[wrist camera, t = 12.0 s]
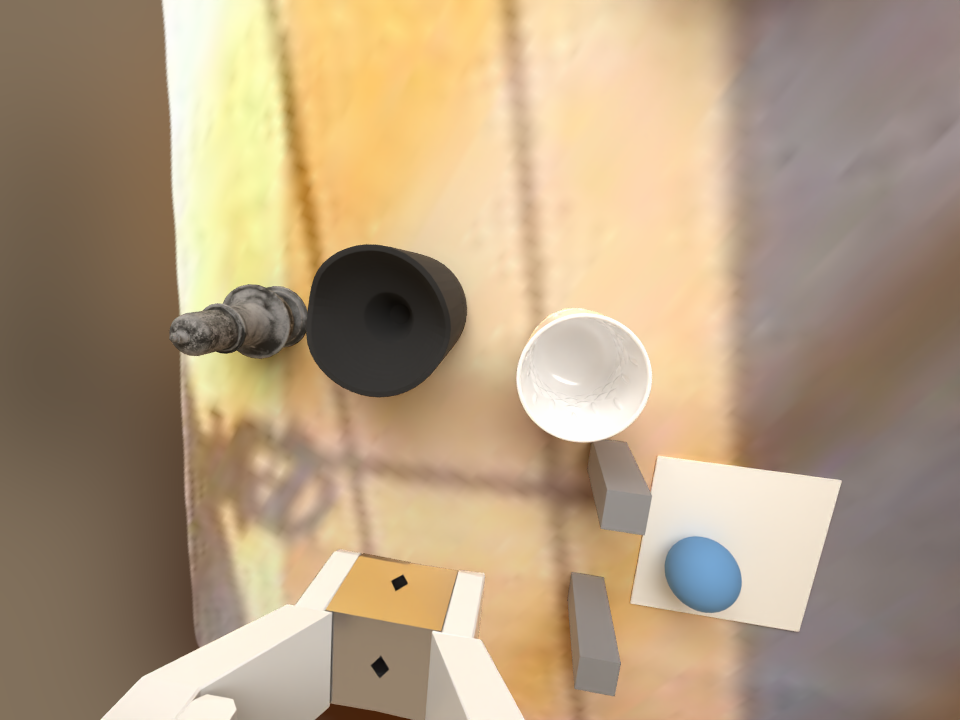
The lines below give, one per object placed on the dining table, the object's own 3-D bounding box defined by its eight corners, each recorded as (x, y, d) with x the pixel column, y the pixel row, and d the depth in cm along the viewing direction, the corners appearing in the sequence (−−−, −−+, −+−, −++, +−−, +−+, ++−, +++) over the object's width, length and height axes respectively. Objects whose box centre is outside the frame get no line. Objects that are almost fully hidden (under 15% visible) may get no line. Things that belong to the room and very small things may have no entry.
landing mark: (840, 480, 36) (841, 481, 36) (797, 630, 39) (798, 631, 39) (657, 455, 38) (657, 456, 37) (630, 601, 41) (630, 603, 40)
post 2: (603, 577, 40) (620, 663, 32) (599, 604, 41) (614, 696, 32) (571, 572, 41) (579, 656, 32) (567, 599, 41) (574, 688, 33)
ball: (657, 527, 37) (708, 518, 39) (644, 583, 38) (694, 571, 40) (711, 575, 32) (767, 562, 34) (693, 637, 34) (748, 621, 36)
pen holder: (339, 294, 38) (271, 305, 29) (426, 225, 36) (384, 211, 27) (406, 384, 39) (362, 424, 30) (495, 321, 37) (479, 342, 27)
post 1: (626, 442, 38) (652, 496, 29) (621, 473, 38) (644, 535, 30) (592, 437, 38) (607, 489, 29) (587, 468, 39) (600, 528, 30)
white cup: (519, 392, 38) (512, 436, 28) (525, 297, 36) (520, 309, 27) (617, 400, 37) (643, 448, 27) (627, 303, 35) (660, 317, 26)
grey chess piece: (259, 270, 39) (139, 273, 27) (321, 301, 39) (226, 317, 27) (239, 332, 40) (116, 360, 29) (298, 361, 40) (199, 401, 28)
